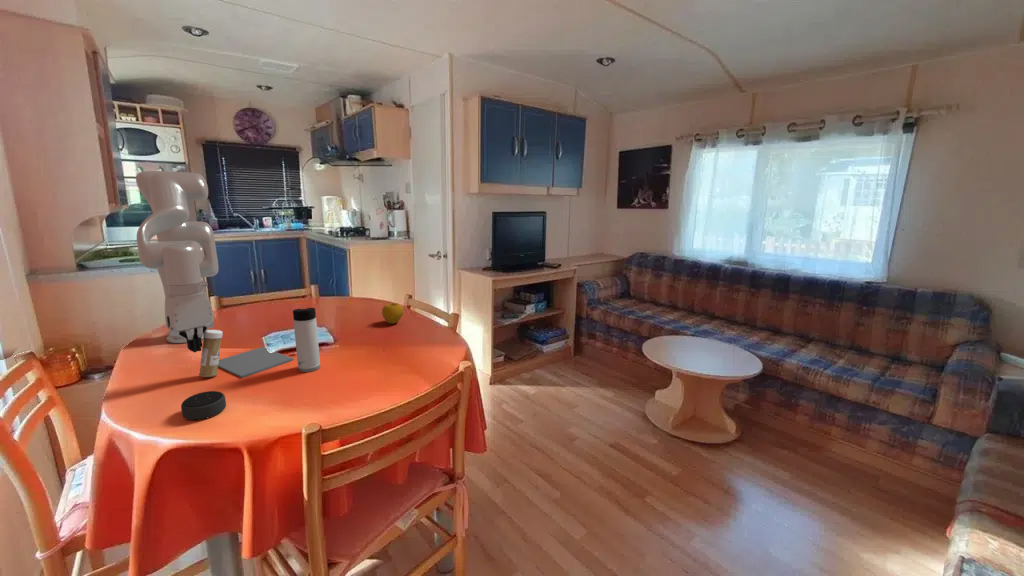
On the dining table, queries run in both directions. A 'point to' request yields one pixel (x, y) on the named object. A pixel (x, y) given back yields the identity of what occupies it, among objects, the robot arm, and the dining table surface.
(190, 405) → the smart speaker
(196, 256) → the robot arm
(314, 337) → the travel mug
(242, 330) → the dining table surface
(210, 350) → the sprinkles bottle
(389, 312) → the apple
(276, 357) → the rubber mat
